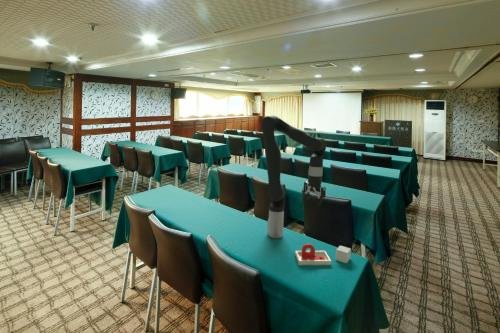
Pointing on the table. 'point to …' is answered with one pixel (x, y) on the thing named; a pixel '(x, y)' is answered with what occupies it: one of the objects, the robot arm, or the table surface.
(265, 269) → the table surface
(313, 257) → the bracket
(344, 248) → the white cube
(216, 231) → the table surface
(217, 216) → the table surface
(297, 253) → the holder tray
